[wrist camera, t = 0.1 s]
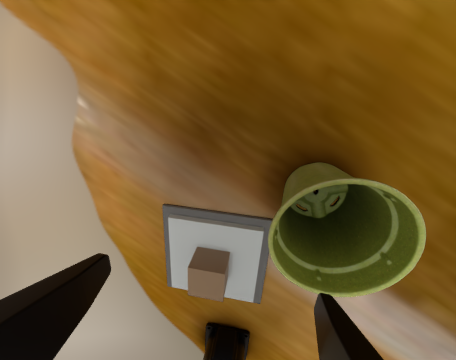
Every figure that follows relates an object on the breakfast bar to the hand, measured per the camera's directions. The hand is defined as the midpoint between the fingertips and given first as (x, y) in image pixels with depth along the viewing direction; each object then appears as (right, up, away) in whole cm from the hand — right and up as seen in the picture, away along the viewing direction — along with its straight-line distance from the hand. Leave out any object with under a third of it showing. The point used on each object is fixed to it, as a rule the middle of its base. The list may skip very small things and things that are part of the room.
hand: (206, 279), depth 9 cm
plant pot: (+10, +3, +13) cm, 17 cm away
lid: (-1, -6, +18) cm, 19 cm away
